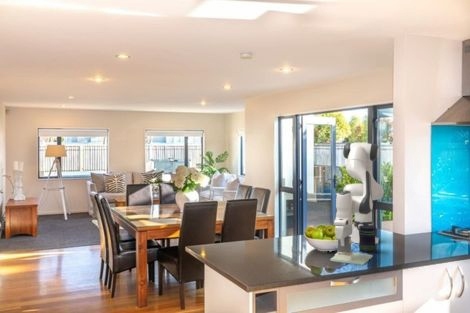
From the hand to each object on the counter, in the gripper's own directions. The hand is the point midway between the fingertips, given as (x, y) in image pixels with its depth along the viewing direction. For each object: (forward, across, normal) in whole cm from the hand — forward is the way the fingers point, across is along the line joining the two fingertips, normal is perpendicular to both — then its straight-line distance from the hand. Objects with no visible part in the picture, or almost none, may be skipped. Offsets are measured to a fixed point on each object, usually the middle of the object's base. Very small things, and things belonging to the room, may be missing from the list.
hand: (344, 244), depth 244 cm
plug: (+4, 0, 0) cm, 4 cm away
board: (+8, -4, +3) cm, 10 cm away
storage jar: (+8, -27, +6) cm, 29 cm away
